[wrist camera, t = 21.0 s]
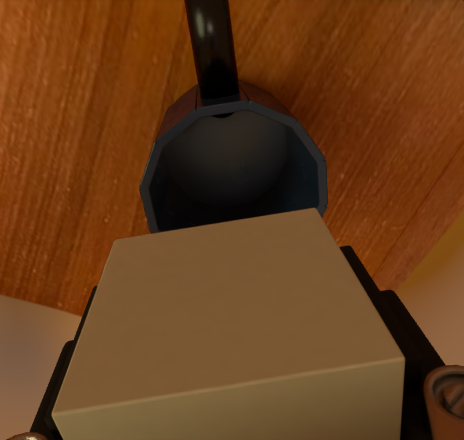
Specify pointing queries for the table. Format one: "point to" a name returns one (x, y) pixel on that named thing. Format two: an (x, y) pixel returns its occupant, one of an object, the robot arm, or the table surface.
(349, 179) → the table surface
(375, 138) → the table surface
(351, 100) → the table surface
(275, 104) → the pot
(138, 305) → the block
